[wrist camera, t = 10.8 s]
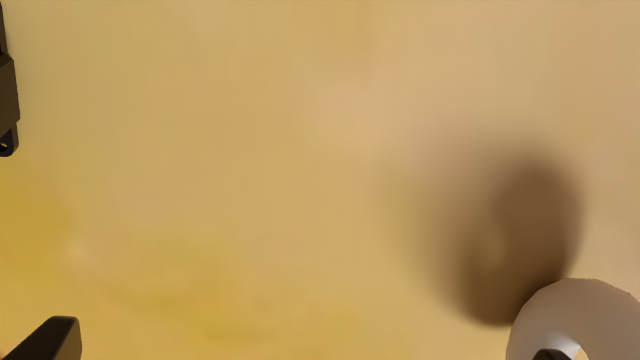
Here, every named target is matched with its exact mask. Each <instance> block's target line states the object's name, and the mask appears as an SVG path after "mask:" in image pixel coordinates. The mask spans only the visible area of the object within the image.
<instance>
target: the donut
mask: <svg viewBox="0 0 640 360" xmlns="http://www.w3.org/2000/svg"><path fill="white" fill-rule="evenodd" d="M543 348H546V349H557V350H560V351H562V352H564V353H565V354H566V355H567V356H568V357H570V358H571V359H572V360H574V356H575V354H576V353H577V351H578V349H579V348H582V349H583V350H584V351H585V353H586V354H587V356H588V358H589V360H640V303H639V302H638V301H637V300H636V299H635V298H634V297H633V296H632V295H631V294H630V293H627V292H625V291H623V290H621V289H619V288H616V287H614V286H612V285H610V284H608V283H605V282H603V281H600V280H597V279H576V278H567V279H562V280H560V281H557V282H555V283H553V284H550V285H548V286H546V287H544V288H541V289H539V290H538V291H537V292H536V293H535V294H534V295H533V296H532V297H531V298H530V299H529V300H528V301H527V302H526V303H525V304H524V305H523V307H522V308H521V310H520V312H519V314H518V316H517V318H516V320H515V322H514V323H513V325H512V328H511V332H510V336H509V340H508V344H507V348H506V360H532V358H533V357H534V355H535V354H536V353H537V351H538V350H540V349H543Z"/></svg>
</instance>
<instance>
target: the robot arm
mask: <svg viewBox="0 0 640 360" xmlns="http://www.w3.org/2000/svg"><path fill="white" fill-rule="evenodd" d="M19 119H20V110H19V102H18V93H17V84H16V76H15V67H14V60H13V59H12V58H11V56H10V55H9V54H8V52H7V44H6V36H5V28H4V20H3V12H2V6H1V3H0V141H2V142H4V143H5V144H6V145H7V147H5V146H2V145H1V144H0V157H8V156H10V155H12V154H13V153H14V152H15V151H16V149H17V148H18V145H19V142H18V133H17V125H16V122H18V121H19ZM81 354H82V341H81V333H80V326H79V321H78V319H77V318H76V317H71V316H53V317H50V318H49V319H48V320H46V321H45V322H44V323H43V324H42V325H41V326H40V327H38V328H37V329H36V330H35V331H34V332H33V333H32V334H30V335H29V336H28V337H27V338H26V339H25V340H24V341H22V342H21V343H20V344H19V345H18V346H17V347H16V348H14V349H13V350H12V351H11V352H10V353H9V354H8V355H6V356H5V357H4V358H3V359H2V360H80V359H81ZM532 360H572V359H571V358H570V357H568V356H567V355H566V354H565V353H564V352H562V351H560V350H557V349H546V348H543V349H540V350H538V351H537V353H536V354H535V355H534V357H533V358H532Z"/></svg>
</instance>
